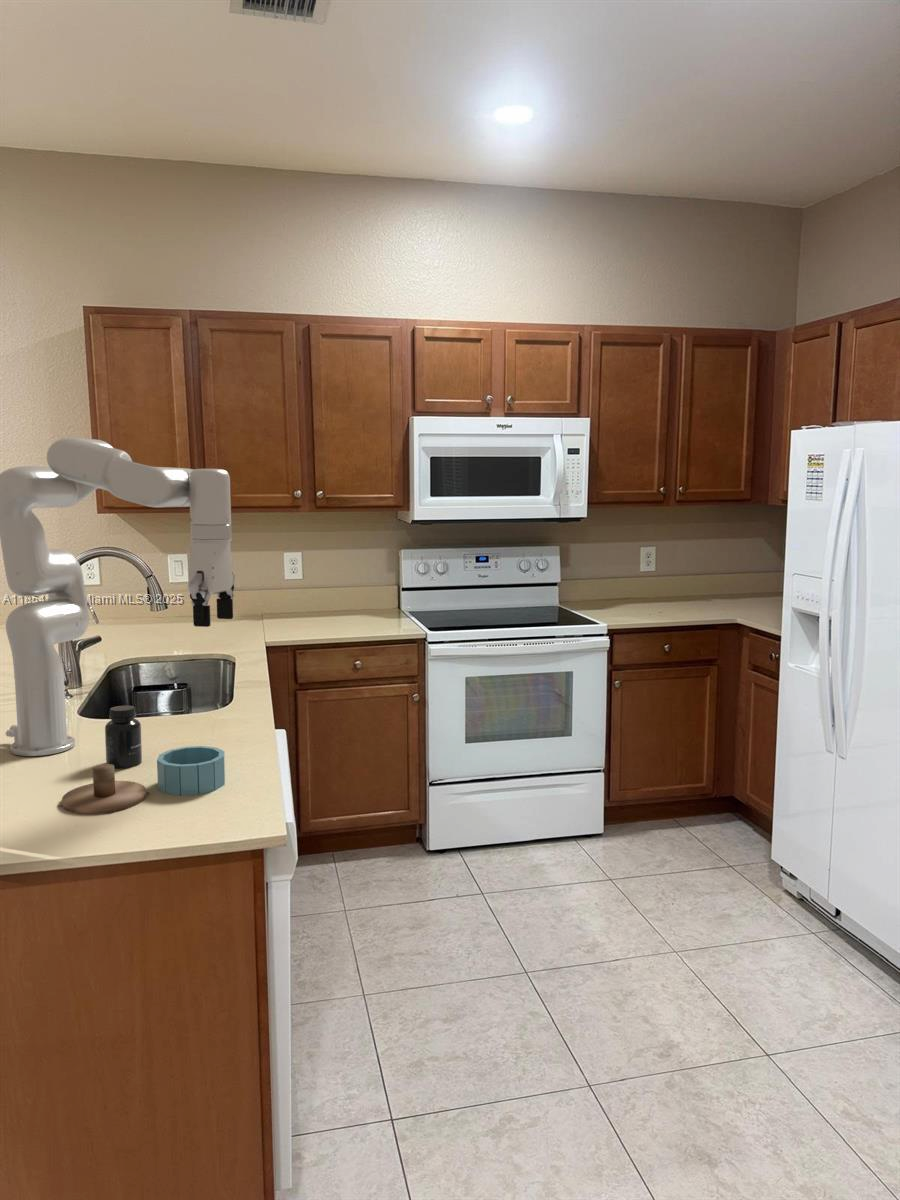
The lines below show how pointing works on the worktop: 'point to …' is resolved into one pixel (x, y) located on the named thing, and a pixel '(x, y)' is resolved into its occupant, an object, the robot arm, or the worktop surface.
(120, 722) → the supplement bottle
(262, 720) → the worktop surface
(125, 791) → the walnut lid
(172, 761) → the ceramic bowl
